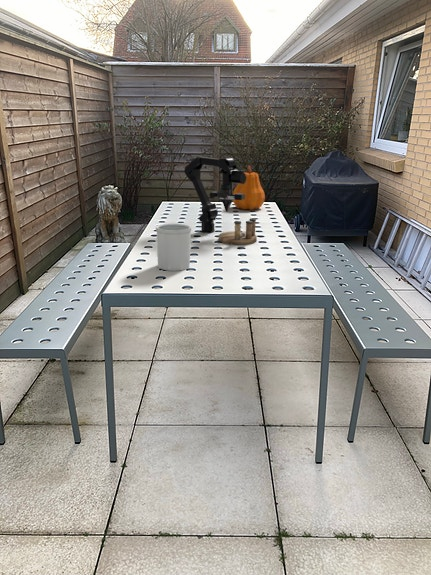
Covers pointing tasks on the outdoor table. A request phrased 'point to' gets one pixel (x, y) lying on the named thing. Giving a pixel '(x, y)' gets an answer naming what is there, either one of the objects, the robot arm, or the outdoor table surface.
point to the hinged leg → (238, 230)
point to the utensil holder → (173, 246)
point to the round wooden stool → (244, 240)
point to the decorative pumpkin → (250, 192)
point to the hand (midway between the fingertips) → (226, 211)
